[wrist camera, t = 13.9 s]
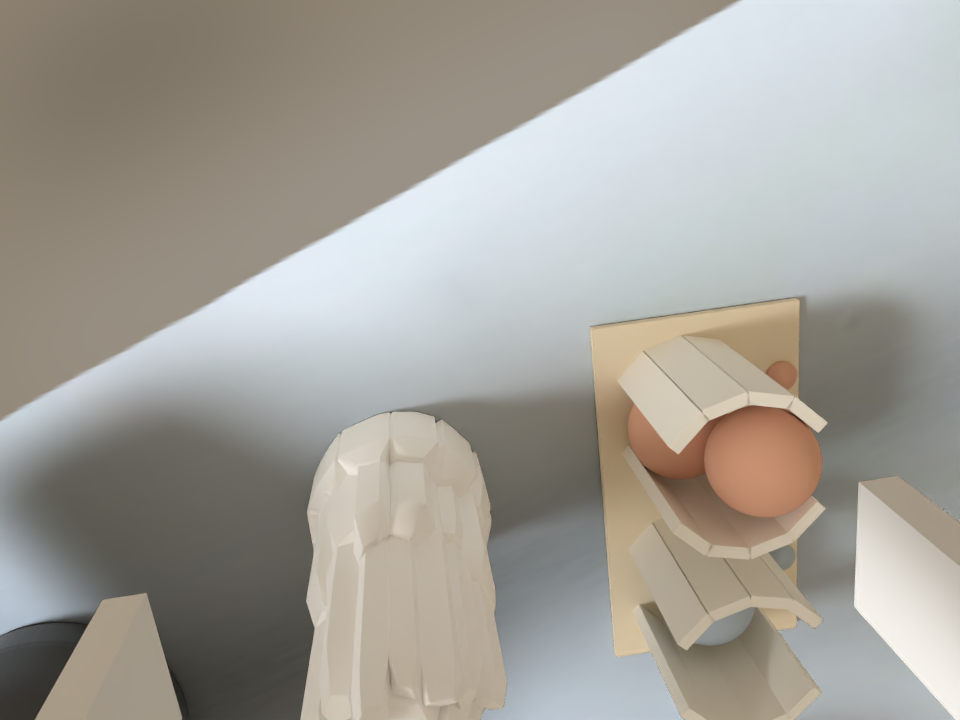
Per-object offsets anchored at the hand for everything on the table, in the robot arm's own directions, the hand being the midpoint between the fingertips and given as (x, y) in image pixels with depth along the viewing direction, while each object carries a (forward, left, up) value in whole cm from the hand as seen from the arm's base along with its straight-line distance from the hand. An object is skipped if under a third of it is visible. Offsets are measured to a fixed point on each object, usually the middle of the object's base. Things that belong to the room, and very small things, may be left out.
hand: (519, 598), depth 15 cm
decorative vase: (-4, -15, -35) cm, 38 cm away
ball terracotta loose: (+13, -12, -26) cm, 32 cm away
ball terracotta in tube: (+14, -12, -34) cm, 39 cm away
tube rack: (+15, -18, -35) cm, 42 cm away
